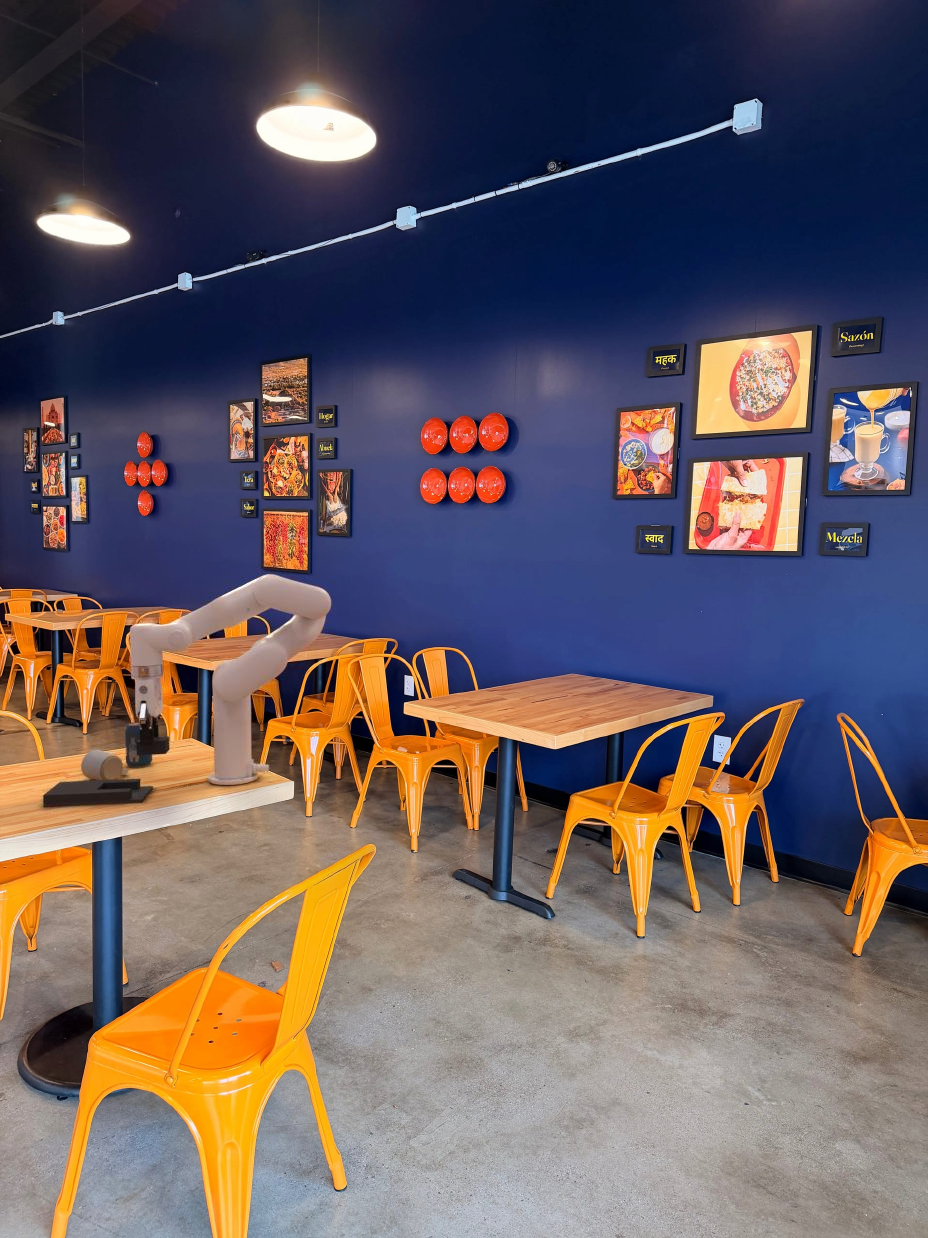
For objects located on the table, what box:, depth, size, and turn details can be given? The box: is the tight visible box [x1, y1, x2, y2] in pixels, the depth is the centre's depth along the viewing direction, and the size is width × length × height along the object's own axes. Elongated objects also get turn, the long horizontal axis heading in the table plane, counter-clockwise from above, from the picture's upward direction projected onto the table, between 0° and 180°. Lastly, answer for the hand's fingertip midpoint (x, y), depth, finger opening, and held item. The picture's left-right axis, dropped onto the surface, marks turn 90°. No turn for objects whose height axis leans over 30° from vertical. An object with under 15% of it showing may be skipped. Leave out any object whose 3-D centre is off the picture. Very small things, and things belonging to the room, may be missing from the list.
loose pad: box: [136, 735, 171, 756], centre depth 204 cm, size 7×5×4 cm
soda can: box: [124, 721, 153, 769], centre depth 225 cm, size 7×7×12 cm
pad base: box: [42, 778, 154, 808], centre depth 194 cm, size 22×12×3 cm, turn 100°
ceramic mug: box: [80, 749, 129, 780], centre depth 211 cm, size 11×8×8 cm
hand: (149, 741), depth 204 cm, fingers closed on loose pad, 5 cm apart
